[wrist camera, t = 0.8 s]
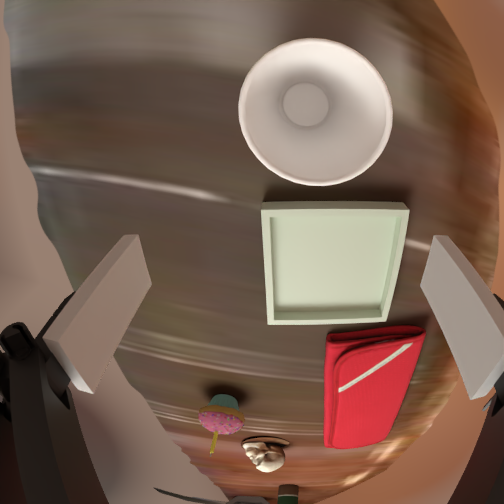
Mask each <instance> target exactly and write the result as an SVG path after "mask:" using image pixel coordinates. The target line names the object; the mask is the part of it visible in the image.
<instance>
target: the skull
mask: <svg viewBox="0 0 504 504" xmlns="http://www.w3.org/2000/svg"><path fill="white" fill-rule="evenodd" d="M285 444H286V445H287V444H289V442H287V441H285V440H283V439H279V438H266V437H262V438H254V439H248V440H246V441H244V442H242V444H241V447H242V448H243V449H245V450H246V455H247V456H249V457H250V459H251V460H252V463H254V464H256V468H257V469H259V470H261V471H263V472H271V471H274V470H276V469H278V468H279V467H281V466H282V465H283V464H284V461H285V453H284V451H283V449H282V448H281V447H284V446H286V445H285Z"/></svg>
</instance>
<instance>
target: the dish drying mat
mask: <svg viewBox="0 0 504 504" xmlns="http://www.w3.org/2000/svg"><path fill="white" fill-rule="evenodd" d="M425 335H426V331H425V329H423V328H421V327H417V326H410V325H397V326H389V327H383V328H376V329H369V330H362V331H354V332H346V333H335V334H328V335H327V337H326V355H325V363H324V429H323V433H324V445H325V447H327V448H336V449H350V448H358V447H363V446H368V445H372V444H375V443H378V442H381V441H383V440H384V439H385V438H386V437H387V435H388V433H389V431H390V430H391V427H392V425H393V423H394V420H395V418H396V416H397V414H398V412H399V409H400V406H401V404H402V401H403V399H404V396H405V393H406V391H407V388H408V385H409V383H410V380H411V377H412V375H413V372H414V369H415V366H416V363H417V360H418V357H419V354H420V351H421V348H422V344H423V341H424V338H425Z"/></svg>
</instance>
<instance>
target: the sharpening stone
mask: <svg viewBox="0 0 504 504" xmlns="http://www.w3.org/2000/svg"><path fill="white" fill-rule="evenodd" d="M226 504H270V503H268V502H267V501H266V500H265V499H264V498H263V497H249V496H236V497H235V498H233V499H232V500H230V501H229V502H227V503H226Z"/></svg>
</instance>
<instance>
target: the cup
mask: <svg viewBox="0 0 504 504" xmlns="http://www.w3.org/2000/svg"><path fill="white" fill-rule="evenodd" d="M238 108H239V121H240V125H241V129H242V133H243V135H244V137H245V140H246V142H247V144H248V146H249V148H250V149H251V150H252V152H253V153H254V154H255V156H256V157H257V158H258V159H259V160H260V161H261V162H262V163H263V164H264V165H265V166H266V167H267V168H268V169H270V170H271V171H273V172H274V173H276V174H277V175H279V176H281V177H283V178H285V179H288V180H290V181H292V182H295V183H300V184H304V185H310V186H326V185H333V184H339V183H342V182H344V181H347V180H350V179H352V178H354V177H356V176H358V175H359V174H361V173H363V172H364V171H365V170H366V169H368V168H369V167H370V166H371V165H372V164H373V163H374V162H375V161H376V160H377V158H378V157H379V156H380V154H381V153H382V152H383V150H384V148H385V146H386V144H387V142H388V139H389V135H390V132H391V128H392V116H393V110H392V103H391V97H390V94H389V92H388V89H387V86H386V83H385V82H384V80H383V78H382V77H381V75H380V73H379V72H378V70H377V69H376V68H375V67H374V66H373V65H372V64H371V63H370V61H369V60H368V59H367V58H365V57H364V56H363V55H361V54H360V53H359V52H357V51H356V50H354V49H352V48H350V47H348V46H346V45H344V44H342V43H339V42H336V41H332V40H328V39H321V38H304V39H296V40H292V41H289V42H286V43H283V44H281V45H278V46H277V47H275V48H273V49H272V50H270V51H268V52H267V53H265V54H264V55H263V56H262V57H261V58H260V59H259V60H258V61H257V62H256V63H255V64H254V65H253V67H252V68H251V70H250V71H249V73H248V74H247V76H246V78H245V80H244V83H243V85H242V88H241V92H240V97H239V103H238Z"/></svg>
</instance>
